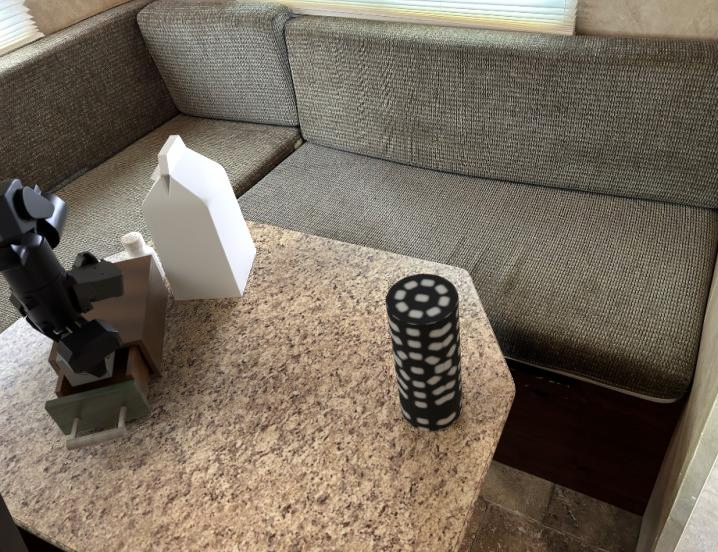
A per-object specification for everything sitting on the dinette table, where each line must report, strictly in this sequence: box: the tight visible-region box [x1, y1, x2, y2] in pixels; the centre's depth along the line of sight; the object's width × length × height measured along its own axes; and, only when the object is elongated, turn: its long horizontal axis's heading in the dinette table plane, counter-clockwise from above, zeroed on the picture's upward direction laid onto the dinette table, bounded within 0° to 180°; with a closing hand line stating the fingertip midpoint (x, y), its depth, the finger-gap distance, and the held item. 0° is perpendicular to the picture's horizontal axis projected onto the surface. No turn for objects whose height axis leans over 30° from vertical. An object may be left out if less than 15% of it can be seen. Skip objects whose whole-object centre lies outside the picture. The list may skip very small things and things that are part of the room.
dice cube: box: [56, 332, 115, 387], centre depth 80 cm, size 5×5×5 cm
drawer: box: [43, 345, 153, 452], centre depth 86 cm, size 23×11×6 cm, turn 14°
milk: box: [141, 134, 257, 301], centre depth 98 cm, size 12×12×26 cm
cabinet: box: [47, 255, 169, 380], centre depth 94 cm, size 20×13×8 cm, turn 14°
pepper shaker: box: [121, 231, 166, 279], centre depth 104 cm, size 4×4×10 cm
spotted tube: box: [385, 273, 464, 432], centre depth 75 cm, size 8×8×20 cm
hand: (91, 363), depth 81 cm, fingers closed on dice cube, 6 cm apart
